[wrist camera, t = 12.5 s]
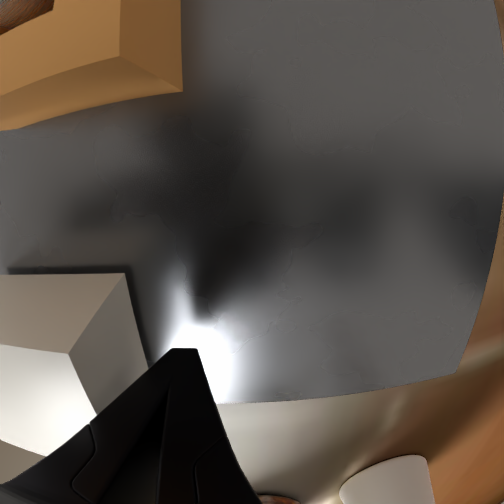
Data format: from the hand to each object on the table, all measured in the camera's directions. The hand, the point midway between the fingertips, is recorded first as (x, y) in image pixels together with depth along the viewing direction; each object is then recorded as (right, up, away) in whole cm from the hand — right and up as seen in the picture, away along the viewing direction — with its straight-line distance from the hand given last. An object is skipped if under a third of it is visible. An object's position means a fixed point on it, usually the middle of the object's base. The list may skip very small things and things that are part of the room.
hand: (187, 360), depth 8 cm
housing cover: (-4, 0, +1) cm, 4 cm away
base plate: (+1, +5, +1) cm, 5 cm away
